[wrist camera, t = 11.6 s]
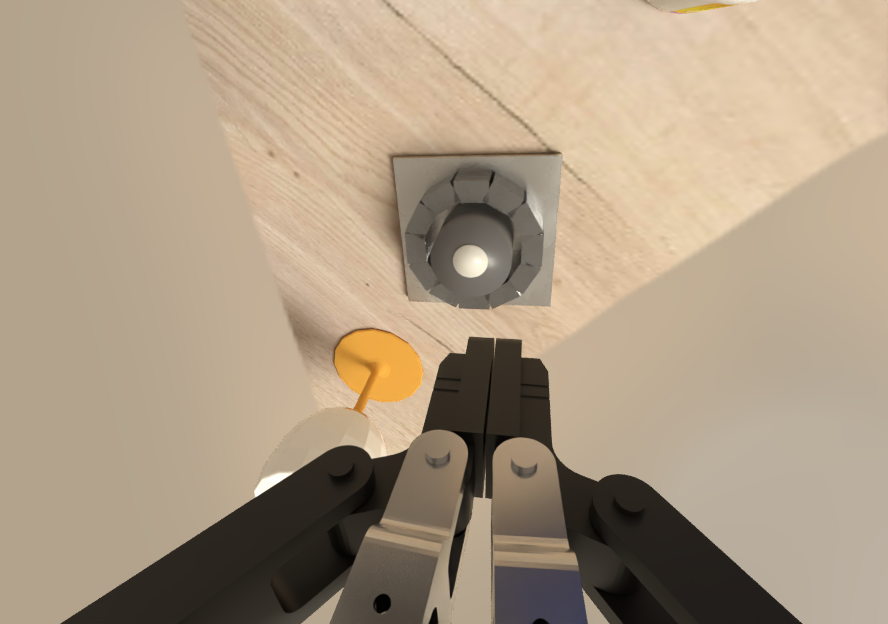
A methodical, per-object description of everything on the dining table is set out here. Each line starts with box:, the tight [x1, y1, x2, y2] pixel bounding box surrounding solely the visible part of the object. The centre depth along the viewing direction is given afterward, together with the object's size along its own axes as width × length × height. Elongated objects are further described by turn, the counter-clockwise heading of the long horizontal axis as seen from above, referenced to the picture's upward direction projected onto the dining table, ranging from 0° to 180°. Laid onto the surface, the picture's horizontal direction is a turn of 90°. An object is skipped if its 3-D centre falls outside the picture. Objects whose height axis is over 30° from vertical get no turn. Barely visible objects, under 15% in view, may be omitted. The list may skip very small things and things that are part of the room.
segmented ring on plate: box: [393, 153, 563, 309], centre depth 34 cm, size 12×12×3 cm
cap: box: [430, 203, 513, 297], centre depth 32 cm, size 6×6×5 cm
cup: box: [254, 329, 423, 497], centre depth 37 cm, size 9×9×16 cm
